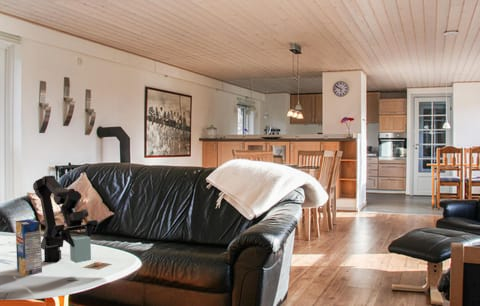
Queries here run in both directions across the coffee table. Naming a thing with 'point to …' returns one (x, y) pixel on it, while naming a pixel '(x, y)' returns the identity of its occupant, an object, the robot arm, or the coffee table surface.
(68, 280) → the mat
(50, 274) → the coffee table surface
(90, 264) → the coaster
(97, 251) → the coffee table surface
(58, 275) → the coffee table surface
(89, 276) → the coffee table surface
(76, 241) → the pale teal block
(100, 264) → the peach flattened ellipsoid
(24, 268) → the beverage box
